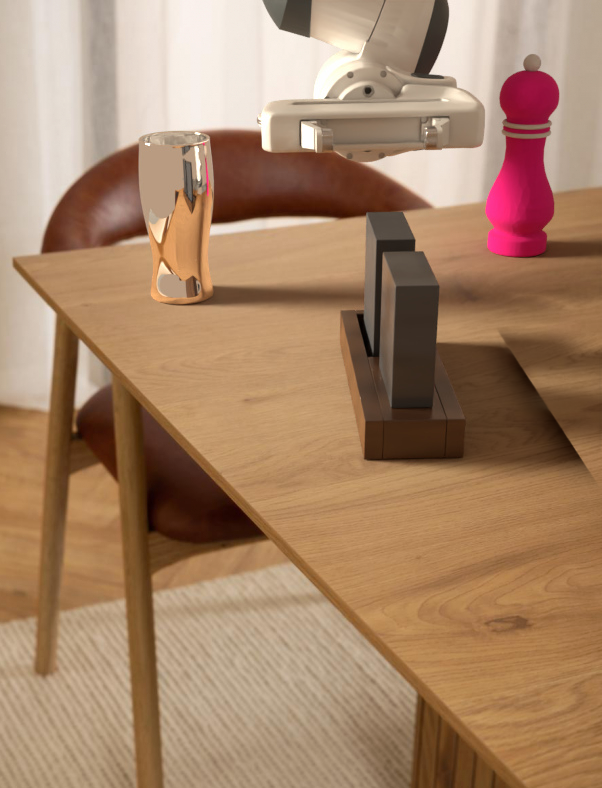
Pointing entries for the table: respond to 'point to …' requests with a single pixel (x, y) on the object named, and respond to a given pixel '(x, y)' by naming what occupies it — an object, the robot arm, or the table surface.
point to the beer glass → (177, 212)
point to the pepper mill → (523, 164)
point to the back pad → (380, 267)
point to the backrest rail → (397, 421)
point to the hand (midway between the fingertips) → (379, 141)
